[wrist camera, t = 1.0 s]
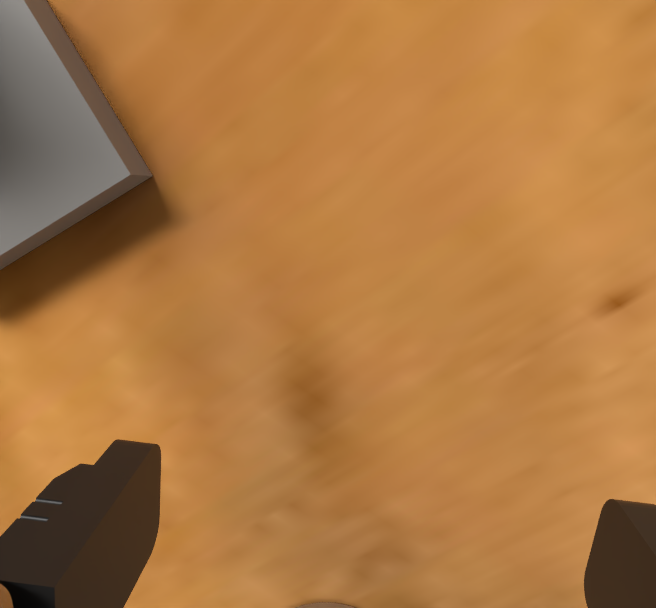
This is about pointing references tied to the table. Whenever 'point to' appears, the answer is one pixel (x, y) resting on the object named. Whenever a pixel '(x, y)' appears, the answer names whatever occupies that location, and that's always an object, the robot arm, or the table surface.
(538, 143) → the table surface
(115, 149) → the slotted block
